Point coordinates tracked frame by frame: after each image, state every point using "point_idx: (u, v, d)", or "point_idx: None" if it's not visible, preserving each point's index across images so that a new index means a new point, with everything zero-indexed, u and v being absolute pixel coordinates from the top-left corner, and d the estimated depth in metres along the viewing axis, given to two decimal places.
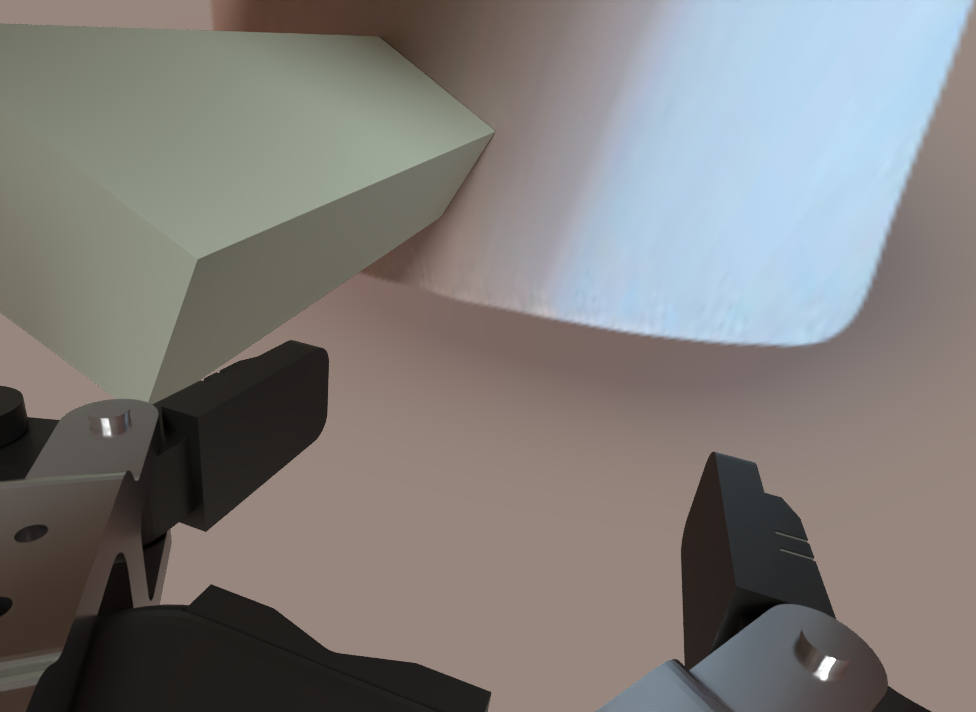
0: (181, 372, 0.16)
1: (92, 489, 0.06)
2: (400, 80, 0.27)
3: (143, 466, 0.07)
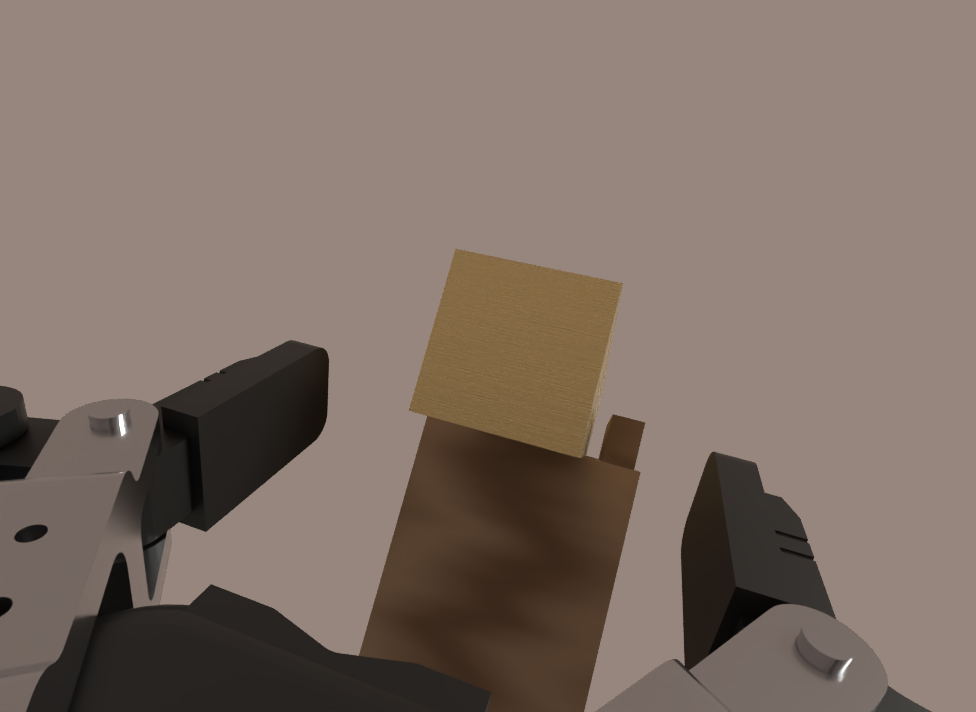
0: None
1: (92, 489, 0.06)
2: None
3: (143, 466, 0.07)
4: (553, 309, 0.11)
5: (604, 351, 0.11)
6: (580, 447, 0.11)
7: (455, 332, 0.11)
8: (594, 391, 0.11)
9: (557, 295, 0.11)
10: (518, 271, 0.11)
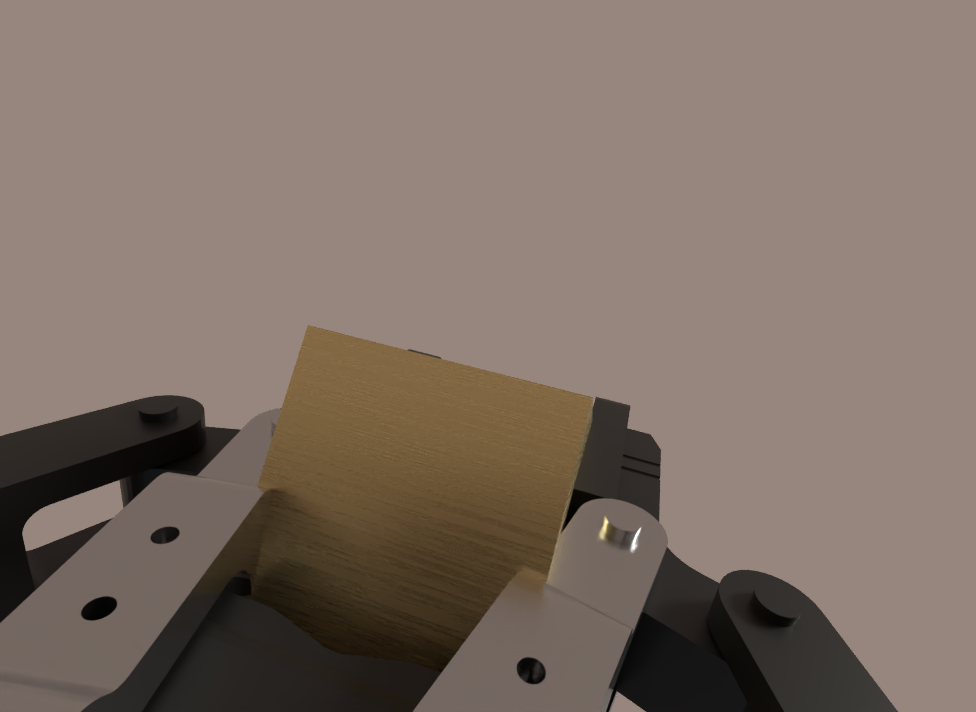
0: None
1: (231, 502, 0.06)
2: None
3: None
4: (469, 440, 0.06)
5: (558, 525, 0.06)
6: None
7: (301, 476, 0.06)
8: None
9: (476, 415, 0.06)
10: (411, 368, 0.06)
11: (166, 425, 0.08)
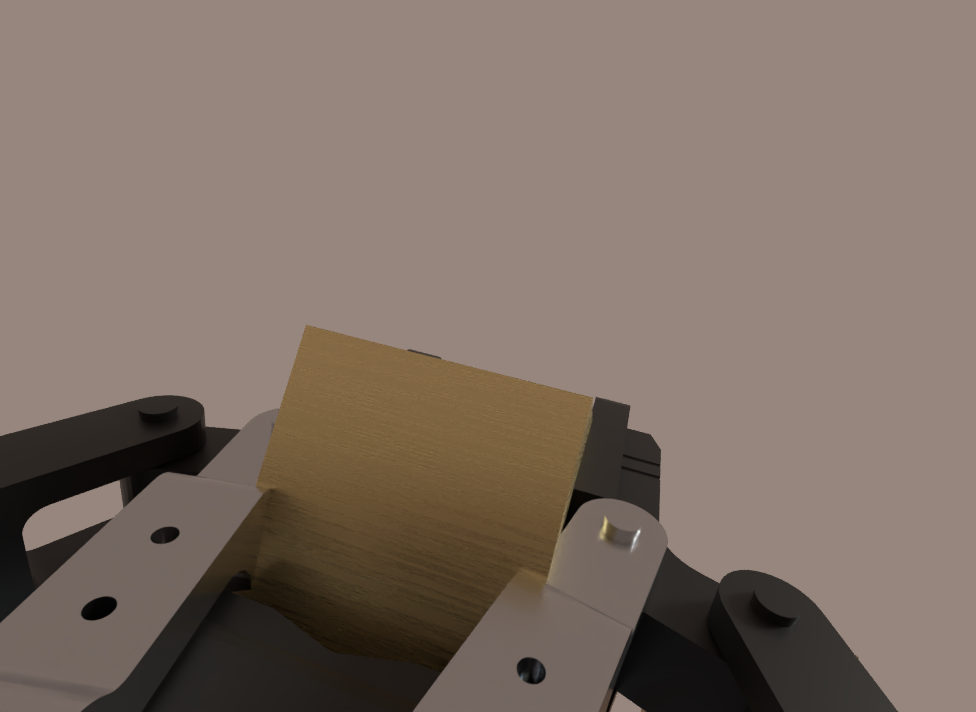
0: None
1: (231, 502, 0.06)
2: None
3: None
4: (468, 441, 0.06)
5: (558, 526, 0.06)
6: None
7: (298, 477, 0.06)
8: None
9: (476, 416, 0.06)
10: (409, 369, 0.06)
11: (166, 425, 0.08)
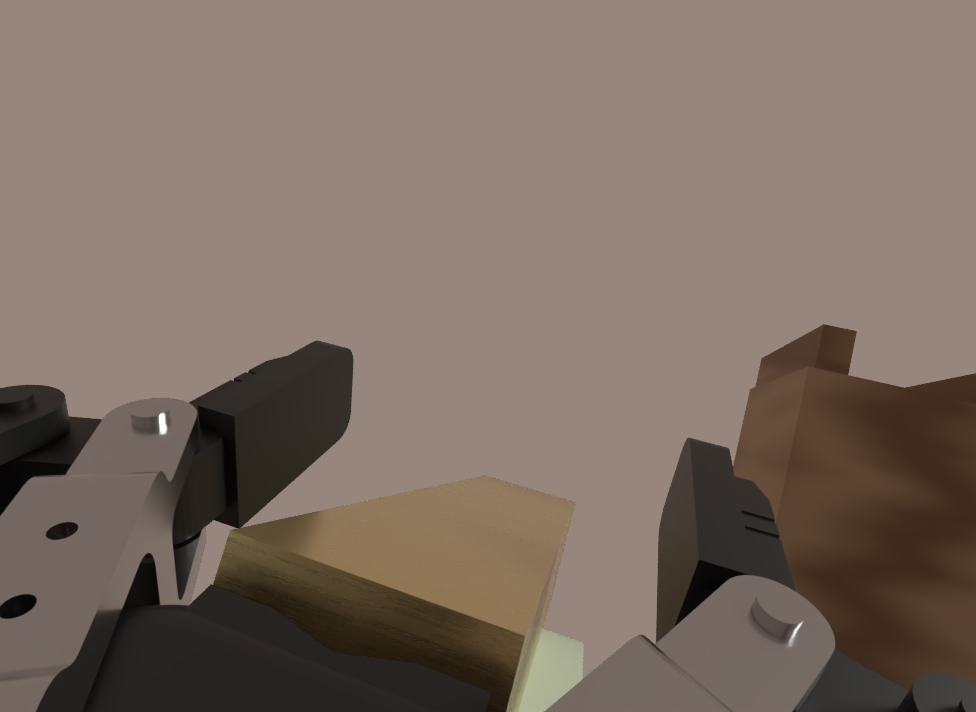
0: None
1: (124, 489, 0.06)
2: None
3: (178, 466, 0.07)
4: None
5: None
6: None
7: None
8: None
9: (403, 646, 0.06)
10: (336, 587, 0.06)
11: (17, 414, 0.08)
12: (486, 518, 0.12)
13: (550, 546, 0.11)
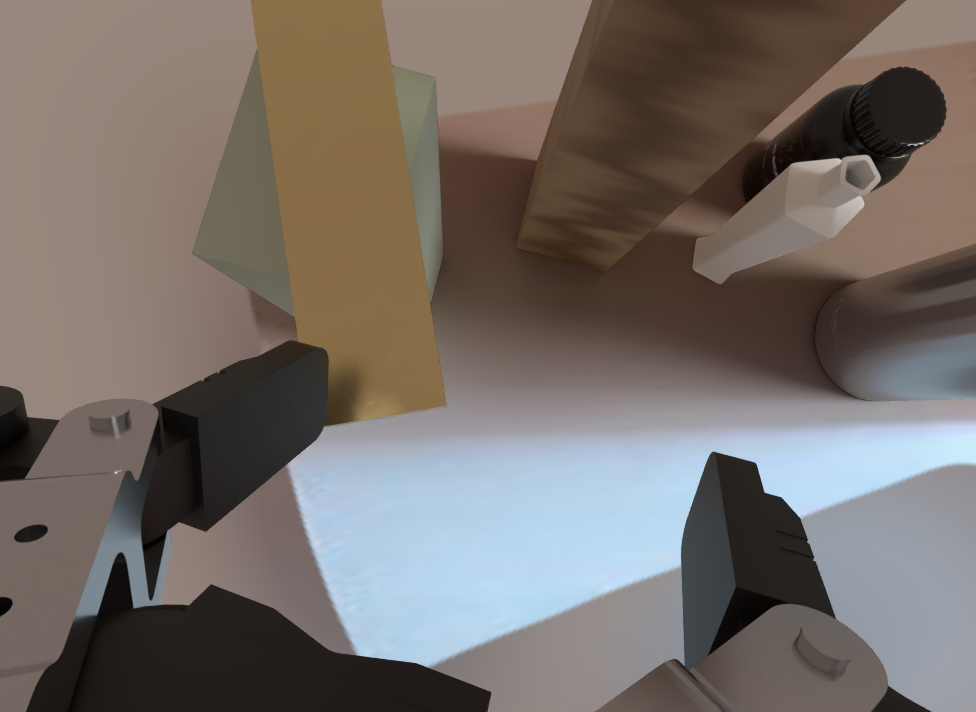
0: (241, 271, 0.19)
1: (92, 489, 0.06)
2: (429, 290, 0.37)
3: (143, 466, 0.07)
4: (403, 413, 0.15)
5: (446, 406, 0.16)
6: (446, 406, 0.18)
7: (342, 424, 0.16)
8: None
9: (403, 413, 0.15)
10: (367, 419, 0.15)
11: None
12: (350, 192, 0.15)
13: (409, 214, 0.15)
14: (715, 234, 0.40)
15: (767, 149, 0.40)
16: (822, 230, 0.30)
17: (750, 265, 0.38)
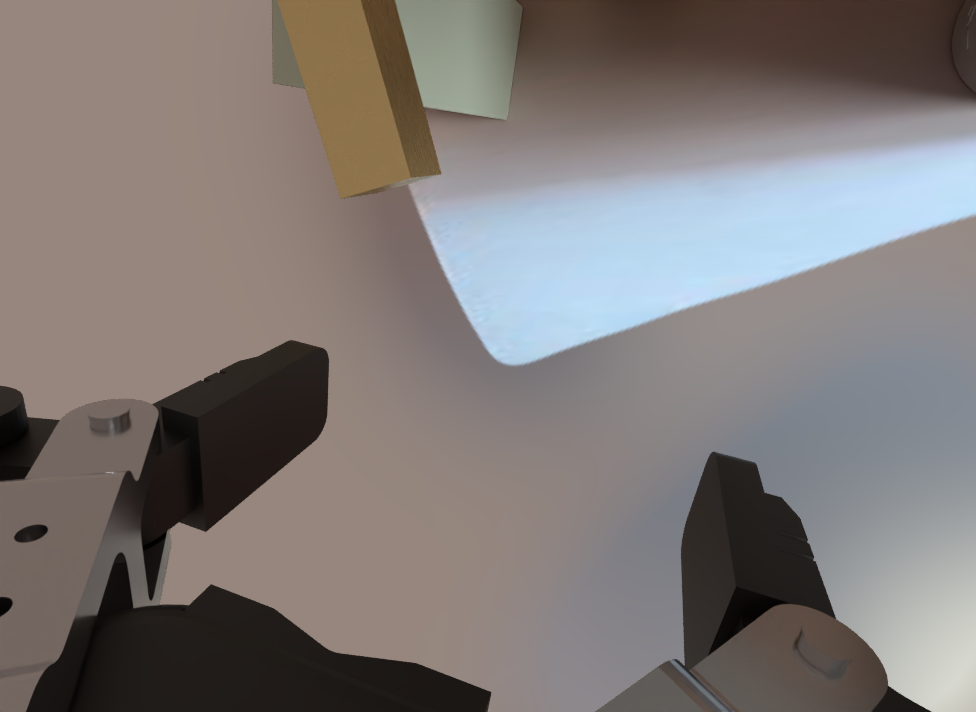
0: None
1: (92, 489, 0.06)
2: (504, 50, 0.41)
3: (143, 466, 0.07)
4: (394, 184, 0.24)
5: (423, 176, 0.24)
6: (439, 173, 0.26)
7: (369, 193, 0.26)
8: (430, 175, 0.25)
9: (391, 184, 0.24)
10: (370, 190, 0.24)
11: None
12: (331, 33, 0.22)
13: (369, 43, 0.22)
14: None
15: None
16: None
17: None
